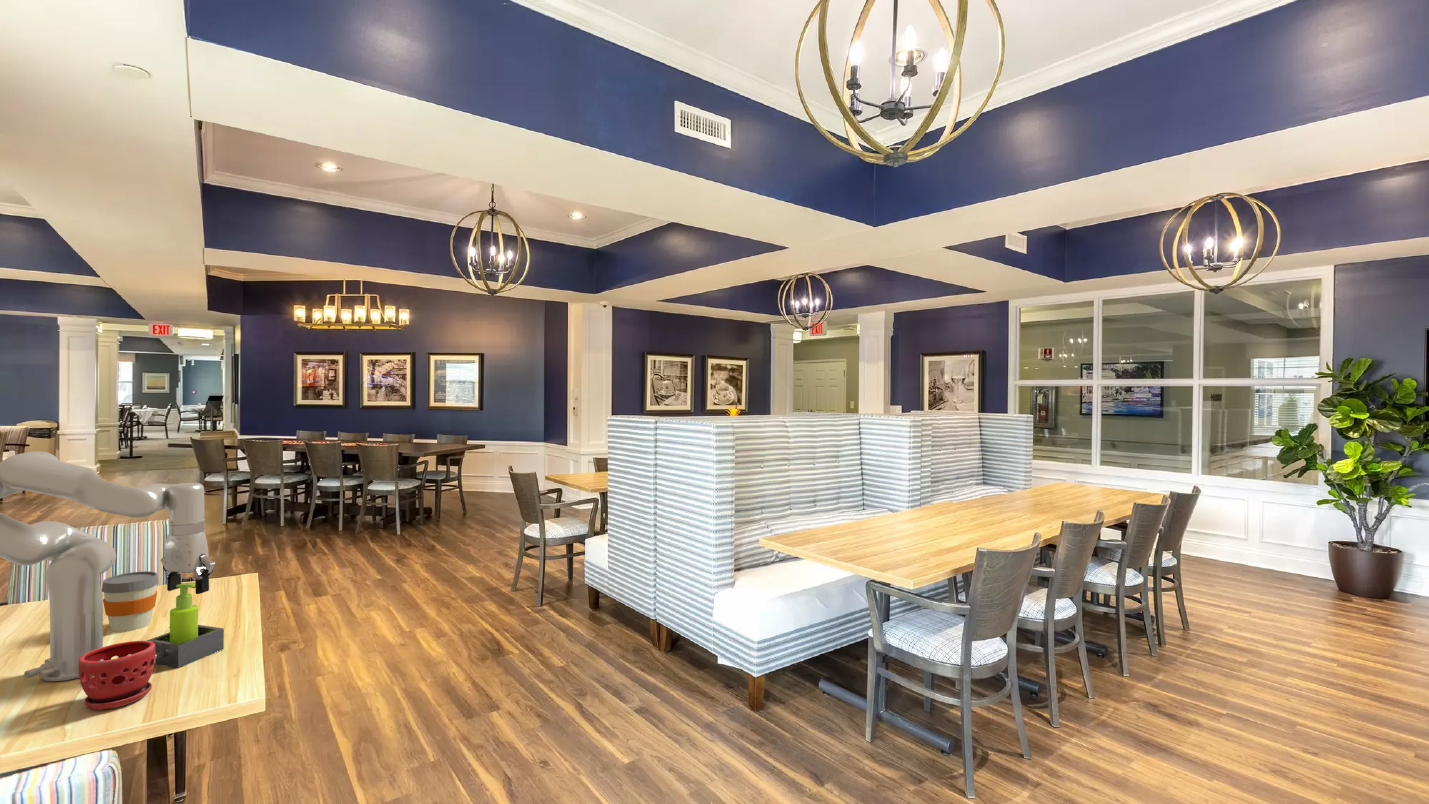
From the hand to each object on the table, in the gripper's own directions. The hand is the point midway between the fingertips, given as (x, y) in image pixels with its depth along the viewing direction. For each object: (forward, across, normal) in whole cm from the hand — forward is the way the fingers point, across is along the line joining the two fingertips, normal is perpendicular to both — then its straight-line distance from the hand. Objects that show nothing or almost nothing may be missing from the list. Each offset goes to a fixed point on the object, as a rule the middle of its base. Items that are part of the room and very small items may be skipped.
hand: (188, 590), depth 170 cm
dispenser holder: (+18, -1, -3) cm, 18 cm away
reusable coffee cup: (+18, -37, +10) cm, 42 cm away
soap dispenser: (+18, -1, 0) cm, 18 cm away
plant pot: (+18, +8, -22) cm, 30 cm away
